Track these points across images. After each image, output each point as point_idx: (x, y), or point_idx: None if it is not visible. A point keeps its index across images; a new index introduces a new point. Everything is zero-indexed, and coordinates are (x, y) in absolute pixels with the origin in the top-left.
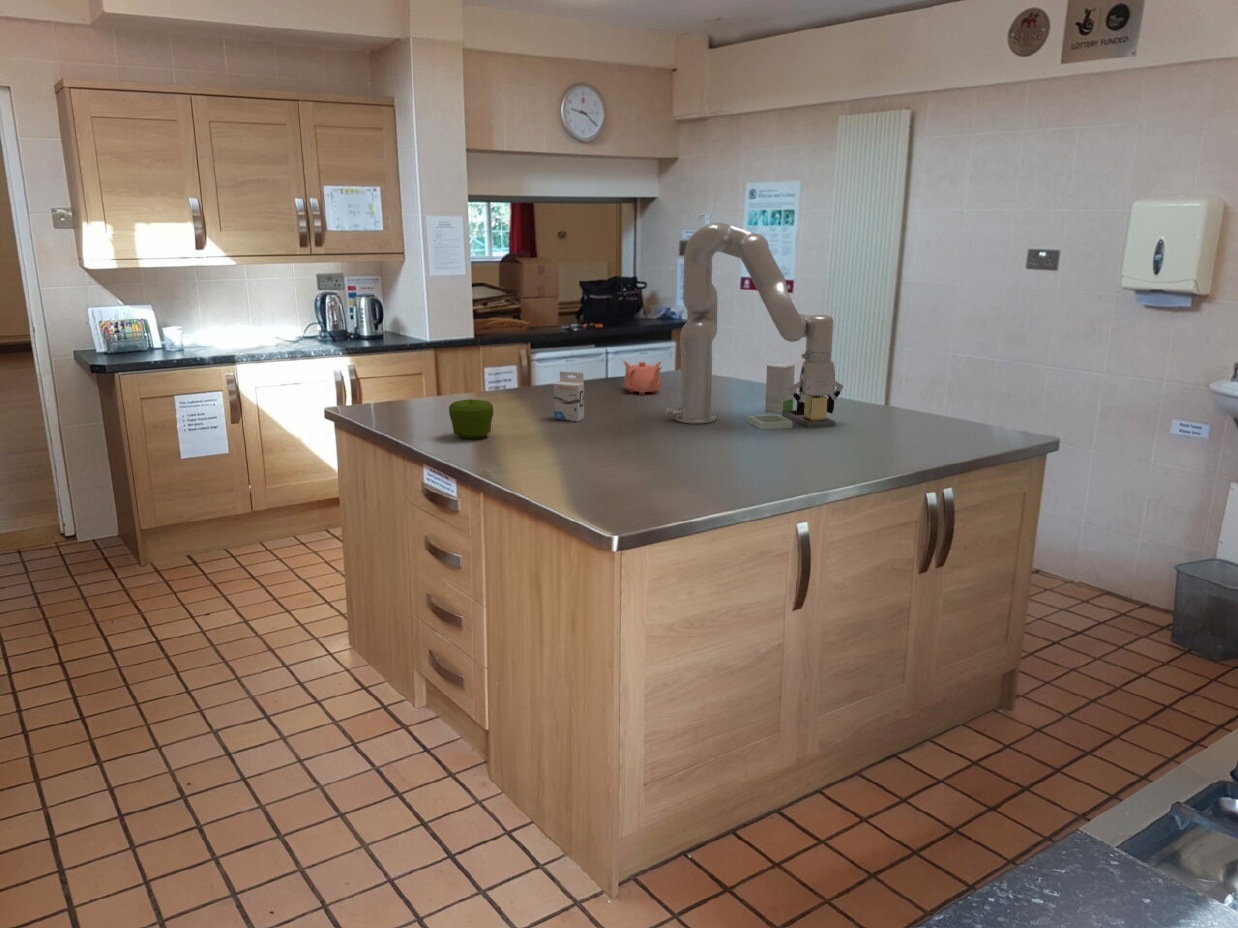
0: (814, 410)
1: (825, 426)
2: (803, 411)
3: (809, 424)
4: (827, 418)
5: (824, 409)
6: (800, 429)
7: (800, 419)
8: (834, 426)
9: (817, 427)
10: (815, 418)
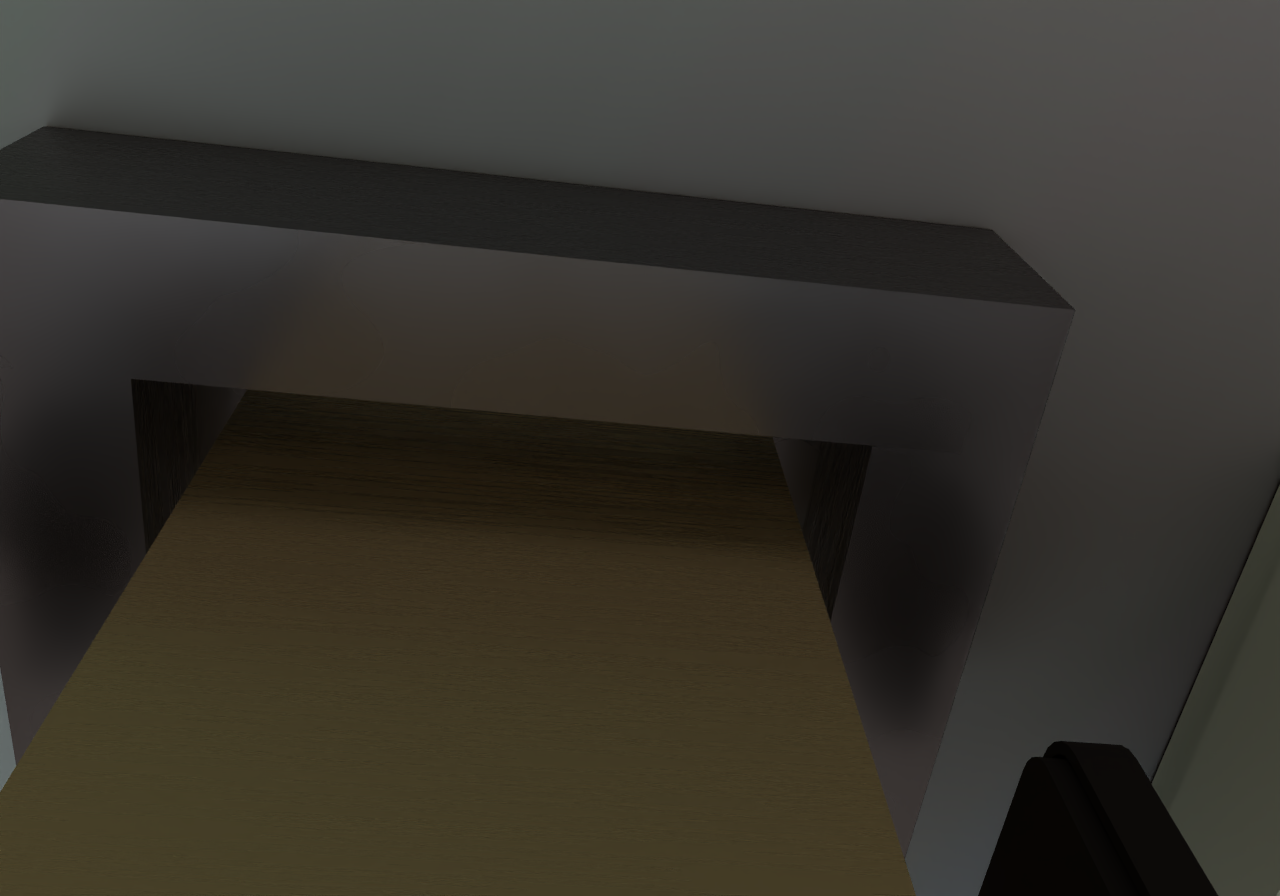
0: (723, 739)
1: (378, 183)
2: (1127, 838)
3: (985, 285)
4: (53, 628)
5: (180, 719)
6: (1094, 379)
7: (932, 766)
8: (35, 142)
9: (670, 211)
10: (632, 528)
